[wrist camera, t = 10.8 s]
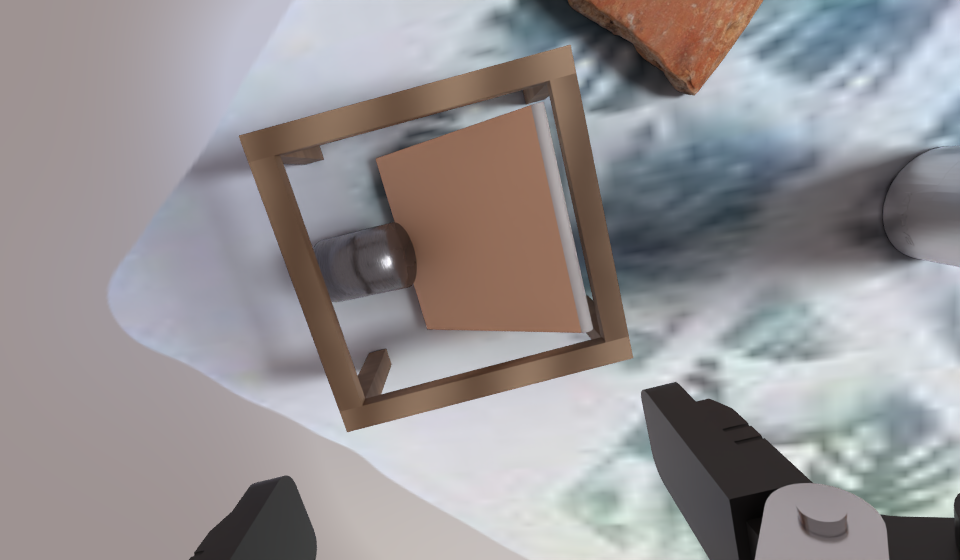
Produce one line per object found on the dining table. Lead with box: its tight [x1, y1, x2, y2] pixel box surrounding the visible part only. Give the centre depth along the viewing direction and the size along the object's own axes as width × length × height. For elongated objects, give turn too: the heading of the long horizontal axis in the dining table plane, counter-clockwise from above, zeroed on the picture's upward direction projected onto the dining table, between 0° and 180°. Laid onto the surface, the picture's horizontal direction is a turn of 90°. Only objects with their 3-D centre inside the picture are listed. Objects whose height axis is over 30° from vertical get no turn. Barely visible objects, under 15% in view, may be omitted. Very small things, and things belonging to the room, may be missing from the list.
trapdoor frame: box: [239, 45, 633, 432], centre depth 33 cm, size 19×19×10 cm
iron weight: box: [313, 222, 417, 302], centre depth 35 cm, size 5×5×6 cm
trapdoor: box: [376, 102, 593, 333], centre depth 33 cm, size 14×14×1 cm
